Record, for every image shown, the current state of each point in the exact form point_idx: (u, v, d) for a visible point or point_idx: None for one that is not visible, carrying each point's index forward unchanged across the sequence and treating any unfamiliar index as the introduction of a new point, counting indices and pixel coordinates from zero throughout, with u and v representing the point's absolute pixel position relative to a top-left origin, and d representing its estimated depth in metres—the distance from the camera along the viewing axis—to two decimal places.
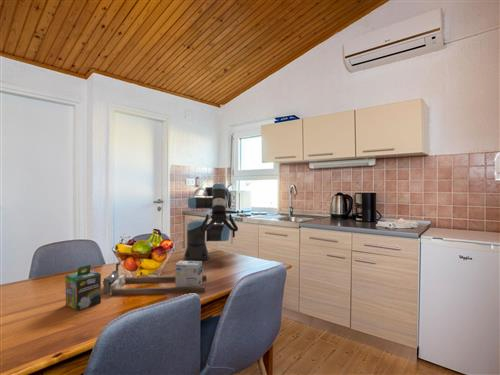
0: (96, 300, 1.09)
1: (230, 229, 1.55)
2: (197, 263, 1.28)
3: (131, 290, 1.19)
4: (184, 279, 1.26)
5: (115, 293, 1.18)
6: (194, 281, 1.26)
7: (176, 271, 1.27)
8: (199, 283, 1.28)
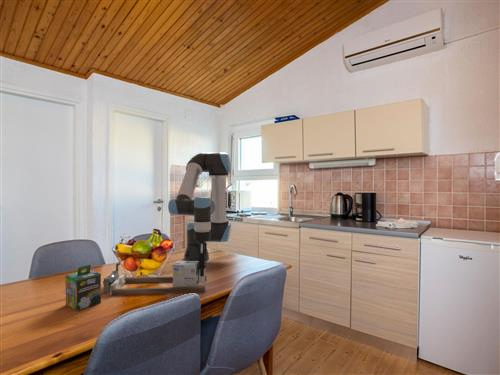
0: (96, 300, 1.09)
1: None
2: (195, 263, 1.28)
3: (131, 290, 1.19)
4: (182, 279, 1.26)
5: (115, 293, 1.18)
6: (192, 281, 1.26)
7: (173, 271, 1.26)
8: (197, 283, 1.28)
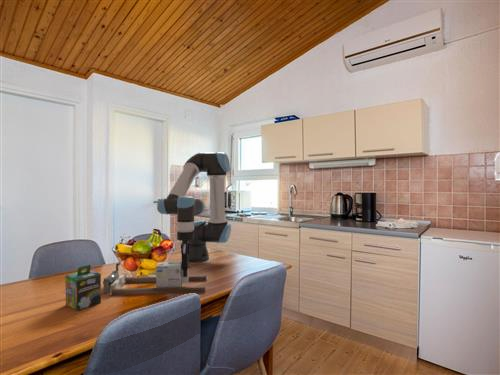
0: (96, 300, 1.09)
1: None
2: (179, 263, 1.27)
3: (131, 290, 1.19)
4: (166, 280, 1.24)
5: (115, 293, 1.18)
6: (177, 282, 1.25)
7: (157, 273, 1.23)
8: (181, 283, 1.27)
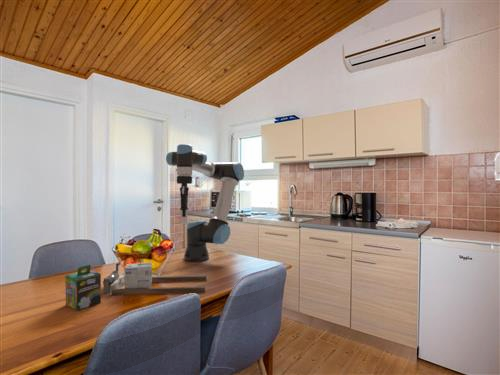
0: (96, 300, 1.09)
1: None
2: (148, 264, 1.25)
3: (131, 290, 1.19)
4: (135, 282, 1.22)
5: (115, 293, 1.18)
6: (146, 283, 1.23)
7: (125, 275, 1.21)
8: None
